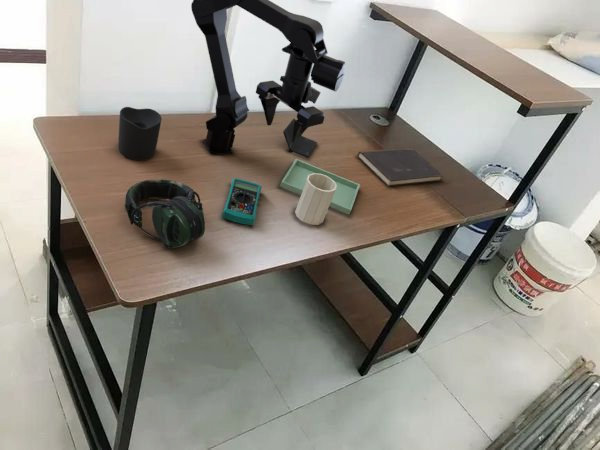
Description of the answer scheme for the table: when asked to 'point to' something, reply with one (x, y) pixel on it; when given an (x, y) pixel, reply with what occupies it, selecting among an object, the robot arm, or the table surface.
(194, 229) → the headphones
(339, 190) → the tray
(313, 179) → the cup
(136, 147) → the pen holder
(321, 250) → the table surface
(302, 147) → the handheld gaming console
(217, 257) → the table surface
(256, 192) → the digital multimeter
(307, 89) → the robot arm
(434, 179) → the hardcover book
